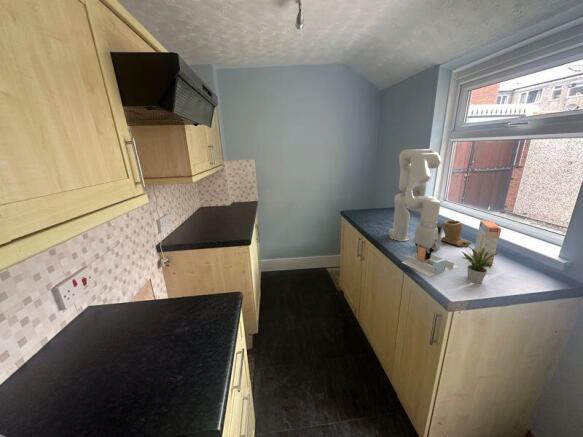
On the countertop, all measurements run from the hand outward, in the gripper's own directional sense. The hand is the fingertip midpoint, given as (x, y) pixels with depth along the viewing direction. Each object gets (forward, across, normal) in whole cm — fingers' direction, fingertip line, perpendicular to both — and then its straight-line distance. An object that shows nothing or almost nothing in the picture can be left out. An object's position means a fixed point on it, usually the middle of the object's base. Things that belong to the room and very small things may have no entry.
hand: (423, 257), depth 120 cm
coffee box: (+5, -12, +23) cm, 27 cm away
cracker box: (+5, +10, +35) cm, 37 cm away
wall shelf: (+5, +2, +3) cm, 6 cm away
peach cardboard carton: (+2, 0, 0) cm, 2 cm away
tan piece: (+5, -12, +45) cm, 47 cm away
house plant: (+5, +20, +10) cm, 24 cm away
